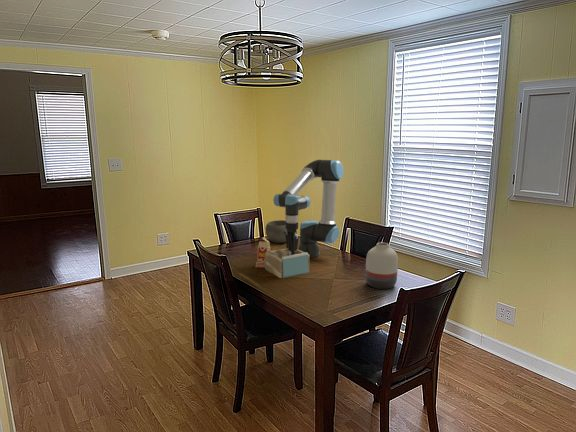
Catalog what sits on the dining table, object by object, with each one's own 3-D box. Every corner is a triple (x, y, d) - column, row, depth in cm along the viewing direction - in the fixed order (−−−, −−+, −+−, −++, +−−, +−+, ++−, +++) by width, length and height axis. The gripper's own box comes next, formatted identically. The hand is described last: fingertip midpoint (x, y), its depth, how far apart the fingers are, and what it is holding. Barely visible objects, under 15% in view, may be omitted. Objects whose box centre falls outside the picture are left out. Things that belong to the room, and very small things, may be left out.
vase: (390, 293, 224) (392, 250, 219) (360, 287, 233) (362, 245, 228) (400, 283, 238) (403, 242, 233) (371, 278, 247) (373, 238, 242)
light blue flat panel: (308, 273, 253) (307, 252, 251) (309, 273, 252) (308, 252, 250) (282, 278, 243) (281, 257, 242) (283, 279, 242) (282, 257, 241)
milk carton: (269, 270, 260) (269, 238, 256) (254, 269, 262) (254, 237, 258) (272, 265, 269) (272, 234, 265) (258, 264, 271) (258, 233, 267)
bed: (293, 265, 269) (293, 247, 266) (309, 273, 254) (309, 254, 251) (265, 271, 258) (265, 252, 256) (280, 280, 243) (280, 259, 241)
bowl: (263, 244, 316) (262, 224, 313) (268, 237, 337) (268, 219, 333) (290, 246, 313) (290, 226, 310) (295, 238, 333) (295, 220, 330)
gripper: (280, 220, 249) (280, 259, 253) (292, 224, 238) (292, 265, 242) (291, 219, 252) (291, 257, 257) (303, 223, 241) (303, 263, 246)
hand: (291, 261), depth 250 cm, fingers closed
